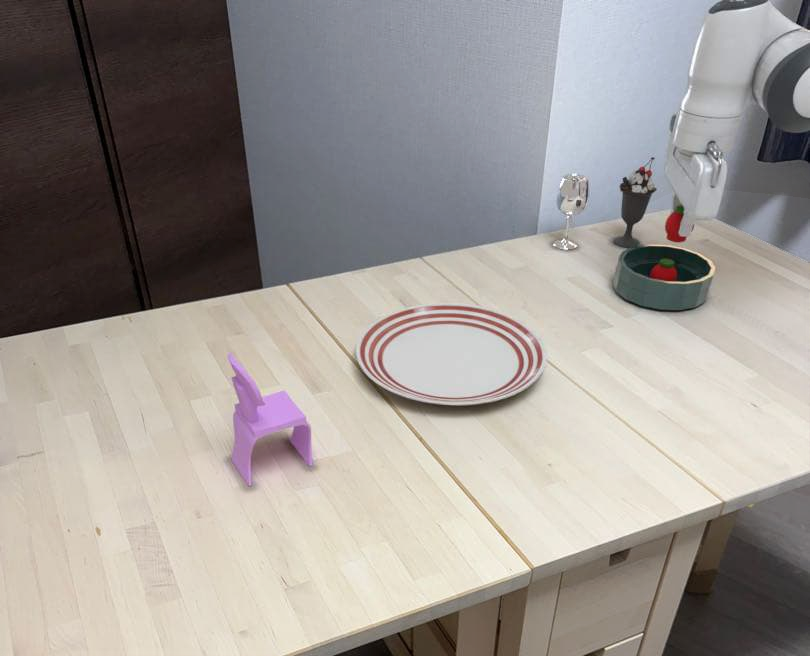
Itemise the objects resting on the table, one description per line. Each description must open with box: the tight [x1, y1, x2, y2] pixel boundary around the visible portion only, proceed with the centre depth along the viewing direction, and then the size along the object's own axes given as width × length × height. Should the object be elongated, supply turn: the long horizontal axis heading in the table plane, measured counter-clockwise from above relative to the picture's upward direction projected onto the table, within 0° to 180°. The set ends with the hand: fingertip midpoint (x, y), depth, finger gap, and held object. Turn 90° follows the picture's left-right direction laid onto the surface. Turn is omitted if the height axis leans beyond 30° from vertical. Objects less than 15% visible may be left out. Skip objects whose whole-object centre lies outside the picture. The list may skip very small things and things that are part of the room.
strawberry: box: [650, 259, 677, 282], centre depth 126 cm, size 4×4×5 cm
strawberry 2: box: [664, 205, 696, 243], centre depth 118 cm, size 4×4×5 cm
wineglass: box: [552, 173, 590, 250], centre depth 138 cm, size 6×6×12 cm
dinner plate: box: [355, 302, 548, 406], centre depth 108 cm, size 27×27×3 cm
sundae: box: [612, 156, 658, 249], centre depth 138 cm, size 7×7×15 cm
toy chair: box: [227, 352, 313, 487], centre depth 87 cm, size 8×9×15 cm
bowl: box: [612, 243, 717, 311], centre depth 126 cm, size 16×16×5 cm
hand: (679, 227), depth 118 cm, fingers closed on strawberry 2, 4 cm apart
